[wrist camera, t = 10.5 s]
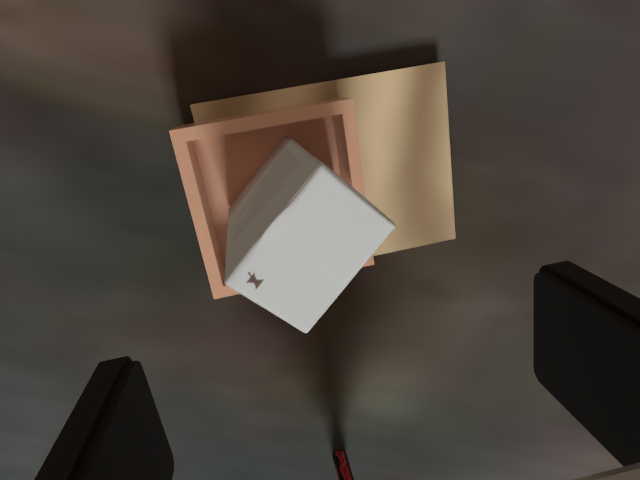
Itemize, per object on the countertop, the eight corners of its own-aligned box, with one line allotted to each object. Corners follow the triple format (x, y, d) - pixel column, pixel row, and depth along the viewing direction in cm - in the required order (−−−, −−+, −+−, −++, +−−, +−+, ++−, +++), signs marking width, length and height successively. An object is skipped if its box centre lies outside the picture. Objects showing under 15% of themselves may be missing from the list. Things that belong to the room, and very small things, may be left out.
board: (437, 62, 29) (444, 61, 28) (448, 233, 33) (455, 238, 32) (192, 104, 28) (189, 104, 27) (234, 278, 32) (234, 285, 31)
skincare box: (280, 246, 30) (304, 340, 18) (227, 208, 28) (217, 285, 17) (338, 174, 29) (401, 226, 18) (286, 131, 27) (318, 159, 16)
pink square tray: (338, 97, 28) (353, 98, 24) (359, 244, 31) (374, 264, 28) (178, 125, 27) (169, 130, 23) (217, 274, 30) (213, 299, 27)
